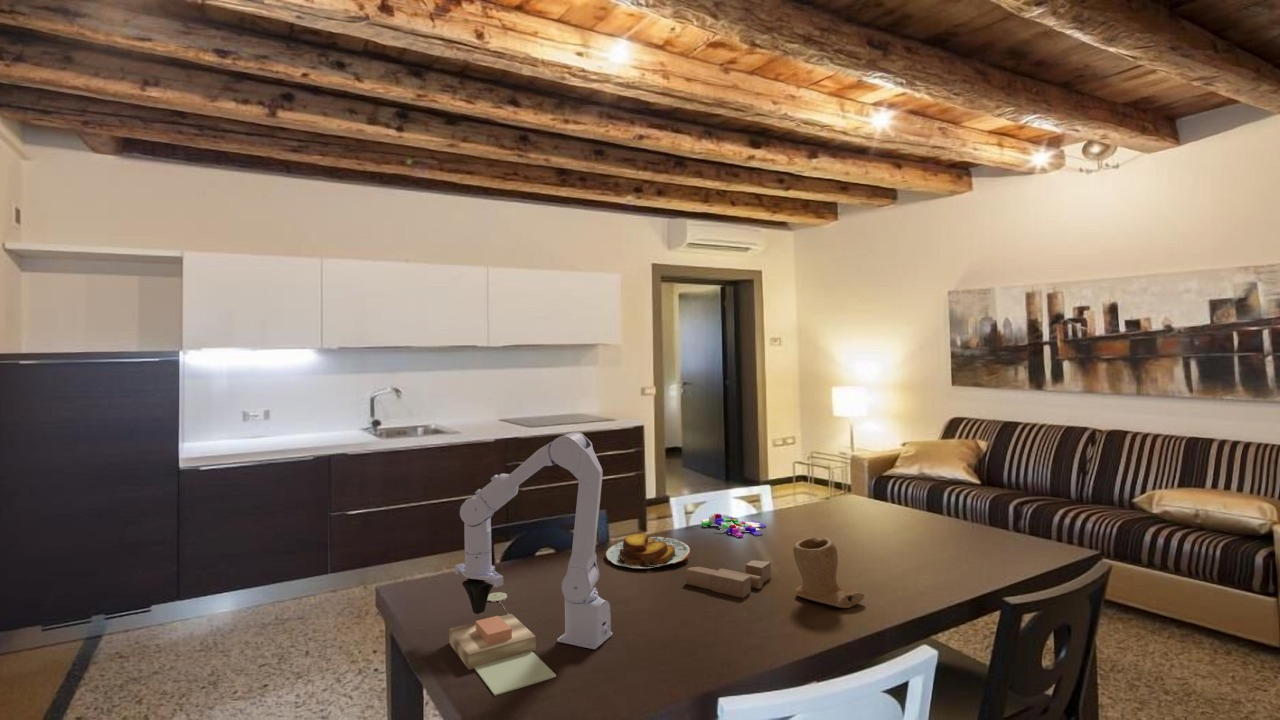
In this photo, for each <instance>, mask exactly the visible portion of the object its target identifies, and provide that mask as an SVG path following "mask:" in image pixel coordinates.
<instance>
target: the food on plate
mask: <svg viewBox="0 0 1280 720" xmlns="http://www.w3.org/2000/svg"><path fill="white" fill-rule="evenodd" d="M690 553H691V548H690V546H689V545H688V544H686V543H685V542H683V541H680V540H678V539H674V538H670V537H664V536H663V537H662V536H650V537H648V535H647V534H646V533H634V534H629V535H627V536H625V537H624V539H623V541H621V542H620V541H619V542H618V543H616V544H613V545H611V547H609V548H607V550H606V551H605V557H606V559H607V561H610V562H611V563H612V564H614V565H616V566H620V567H621V566H622V567H627V568H632V569H645V567H647V569H651V568H652V569H653V568H656V567H662V566H665V565H670V564H677V563H679V562H683V561H684V560H685V561H684V563H685V564H687V563H688V562H687V558H689V556H690ZM619 556H621V557H622V558H623V559H624V560H625V561H624V560H623V561H624V563H623V562H621V563H620V561H619V562H618V561H617V560H619V559H618V557H619ZM622 558H621V559H622ZM622 563H623V564H622ZM646 565H647V566H646ZM650 565H657V566H654V567H653V566H652V567H651V566H650ZM642 566H644V567H642ZM648 566H649V567H648Z"/></svg>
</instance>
